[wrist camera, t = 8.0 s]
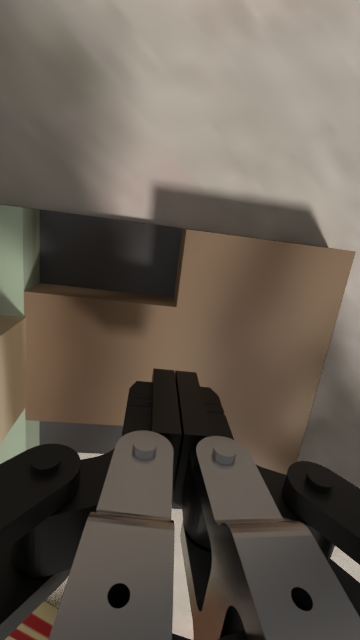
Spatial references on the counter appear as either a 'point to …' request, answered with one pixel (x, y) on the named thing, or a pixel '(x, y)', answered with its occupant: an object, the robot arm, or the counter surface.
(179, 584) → the counter surface
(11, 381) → the maple block
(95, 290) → the trap track
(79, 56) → the counter surface
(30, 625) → the milk carton
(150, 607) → the robot arm
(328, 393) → the counter surface
